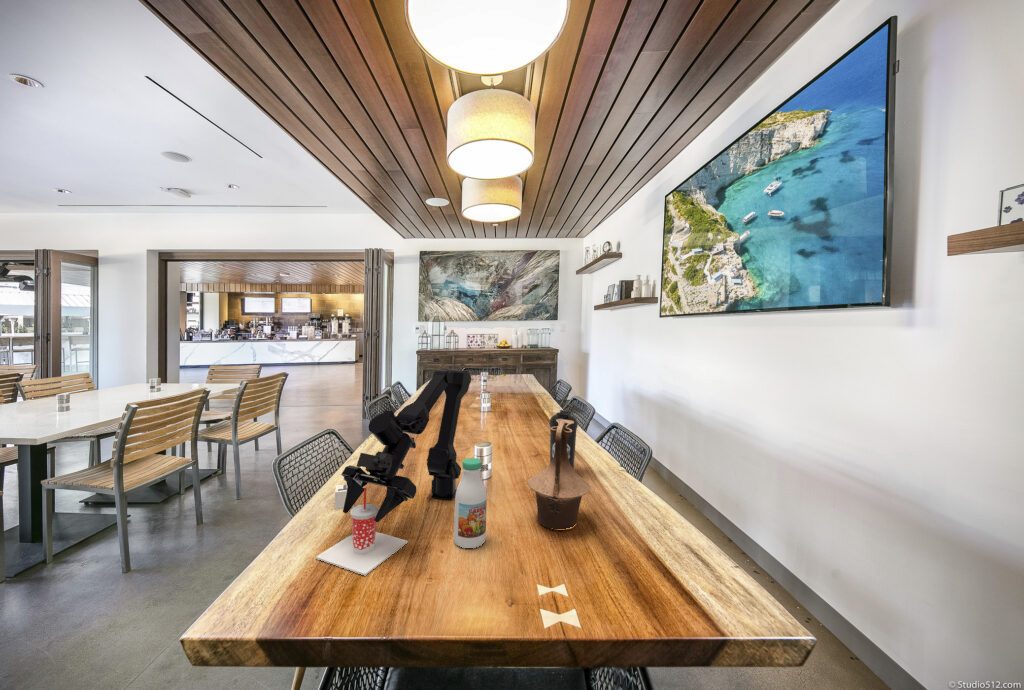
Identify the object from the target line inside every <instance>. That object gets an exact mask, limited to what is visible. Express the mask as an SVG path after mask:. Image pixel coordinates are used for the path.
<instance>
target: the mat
mask: <svg viewBox="0 0 1024 690" xmlns="http://www.w3.org/2000/svg"><path fill="white" fill-rule="evenodd" d="M407 543H408V544H409V541H408V540H407V539H402V538H399V537H395V536H392V535H389V534H386V533H382V532H378V531H376V533H375V545H374V549H373V550H372V551H370V552H368V553H364V554H357V553H355V552H354V551H353V535H352V534H350V535H349V536H347V537H345V538H344V539H342V540H340V541H339V542H337V543H336V544H334V545H332V546H331V547H329V548H328V549H326V550H323V552H320V554H317V555H316V556H315V560H316V559H318V560H317V561H319V560H321V561H324V562H327V563H330V564H333V565H336V566H339V567H341V568H344V569H347V570H350V571H353V572H355V573H358V574H361V575H364V576H366V575H367V574H368V573H369V572H370V571H372V570H373V569H374V568H375V567H377V566H378V565H379V564H381V563H382V562H383V561H385V560H386V559H387V558H388V557H390V556H391V555H392V554H394V553H395V552H396V551H398V550H399V549H400V548H401V549H402V547H403V546H404V545H405V544H407ZM408 544H407V545H408ZM405 546H406V545H405ZM405 546H404V547H405ZM404 547H403V548H404ZM401 549H400V550H401ZM400 550H399V551H400ZM399 551H398V552H399ZM396 553H397V552H396ZM396 553H395V554H396ZM395 554H394V555H395ZM392 556H393V555H392ZM392 556H391V557H392ZM391 557H390V558H391ZM387 560H388V559H387ZM387 560H386V561H387ZM321 561H320V562H321ZM386 561H385V562H386ZM324 562H323V563H324ZM327 563H326V564H327ZM383 563H384V562H383ZM383 563H382V564H383ZM330 564H329V565H330ZM382 564H381V565H382ZM333 565H332V566H333ZM336 566H335V567H336ZM378 567H379V566H378ZM378 567H377V568H378ZM341 568H340V569H341ZM344 569H343V570H344ZM347 570H346V571H347ZM350 571H349V572H350ZM373 571H374V570H373ZM373 571H372V572H373ZM353 572H352V573H353ZM355 573H354V574H355ZM358 574H357V575H358ZM369 574H370V573H369ZM369 574H368V575H369ZM361 575H360V576H361ZM368 575H367V576H368ZM364 576H363V577H364ZM367 576H366V577H367Z"/></svg>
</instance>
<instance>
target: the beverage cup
mask: <svg viewBox="0 0 1024 690" xmlns="http://www.w3.org/2000/svg"><path fill="white" fill-rule="evenodd" d="M363 488H364V492H363V504H359V505H356V506H354V507H352V508H351V509H350V510H349V511H350V517H351V528H352V529H351V531H352V532H351V533H352V534H351V535H353V551H354V552H355V553H357V554H364V553H368V552H370V551H372V550H373V549H374V545H375V533H376V532H377V522H375V517H376V515H377V513H378V511H379V509H380V508H379V506H378V505H376V504H373V503H367V488H366V487H363Z"/></svg>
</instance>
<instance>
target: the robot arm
mask: <svg viewBox="0 0 1024 690" xmlns="http://www.w3.org/2000/svg"><path fill="white" fill-rule="evenodd" d="M471 383H472V375H471V374H470V372H469V371H468V370H466V369H465V370H463V369H462V370H461V369H453V368H449V369H447V370H444V369H437V370H435V371H433V375H432V377H431V379H430V380H429V382H428V383H427V384H426V385H425V387H424V388H423V390H422V391H421V392H420V394H419V395H418V396H417V398H416V399H415V400H414V401H413V402H411V403H409V404H407V405H405V406H404V407H403V408H402V409H401V410H400V411H399V412H398V414H397V415H395V413H394V411H393V410H390V409H384V411H383V413H379V414H378V415H376V416H374V418H372V419H371V420H370V421H369V424H368V430H369V432H370V433H371V434H372V435H373V436H374V437H375V438H376V439H377V441H379V443H380V444H381V445H383V446H384V448H383V450H382V451H377V452H376V453H375V454H371V453H370V454H369V453H364V452H360V454H359V456H358V460H357V462H356V466H355V465H347V466H345V468H344V469H343V470H342V473H341V474H340V475H341V476H342V477H343V480H344V481H345V482H346V484H347V494H346V499H345V503H344V508H343V509H342V513H343V514H348V513H349V511H351V509H352V508H353V507H352V506H353V505H354V506H355V504H356V503H357V501H358V500H359V498H360V497H361V495H363V494H364V488H365V486H367V485H368V484H371V485H375V486H380V487H384V488H386V490H385V491H386V492H385V497H384V499H383V501H382V502H381V505H380V506H379V508H378V509H379V510H378V513H377V515H376V517H375V522H376V523H379V522H380V521H381V520H383V519H384V518H385V517H386V516H387V515H389V513H390V512H391V511H393V510H394V509H395V508H397V507H398V506H399V505H401V504H402V503H403V502H408V500H409V499H411V500H414V498H415V497H416V493H417V492H418V491H417V485H416V484H415V483H414V482H413V481H412V480H411V479H410V478H409V477H406V476H403V475H397V474H398V472H399V470H403V469H404V468H405V465H404V464H403V462H404V460H405V458H406V456H407V455H408V452H409V450H410V449H416V448H417V443H416V442H415V437H411V436H410V435H409V434H412V435H421V434H423V432H424V431H425V429H426V427H427V425H428V424H429V421H430V412H431V410H432V409H433V407H434V405H435V404H436V403H437V402H438V400H439V398H441V395H442V394H443V392H444V393H445V401H444V404H443V411H442V415H441V420H440V421H441V422H440V427H439V432H438V437H437V442H436V443H435V444H434V445H433V447H431V446H430V448H429V449H428V455H427V458H426V468H427V472H428V476H430V477H431V476H433V479H432V480H431V494H432V495H431V496H430V498H431V499H437V500H447V501H451V500H452V499H454V498H455V496H456V490H457V489H456V480H457V479H459V478H460V475H461V472H462V467H461V466H460V465H459V463H458V462H457V452H456V449H455V446H454V443H455V437H456V431H457V425H458V422H459V421H458V420H459V415H460V408H461V404H462V403H461V402H462V400H463V398H464V396H465V395H466V394H468V391H469V389H470V384H471ZM361 467H362V468H361ZM363 468H365V470H363Z"/></svg>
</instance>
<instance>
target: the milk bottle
mask: <svg viewBox="0 0 1024 690" xmlns="http://www.w3.org/2000/svg"><path fill="white" fill-rule="evenodd" d="M461 471H462V476H461V479H460V481H459V483H458V485H457V488H456V489H455V490H456V494H455V495H454V515H453V516H454V519H453V520H454V521H453V522H454V523H453V542H454V544H455V545H456V546H457V545H458V546H457V547H459V546H460V547H459V548H461V547H462V548H461V549H465V548H473V549H477V548H480V547H481V546H483V545H482V544H483V543H484V544H485V542H486V538H487V537H486V535H487V534H486V533H487V505H488V504H487V502H488V501H487V500H488V499H487V489H486V486H485V483H484V480H483V479H482V474H481V471H482V460H481V459H479V458H478V457H469V458H465V459H463V460H462V467H461ZM479 546H480V547H479ZM476 547H477V548H476Z"/></svg>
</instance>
